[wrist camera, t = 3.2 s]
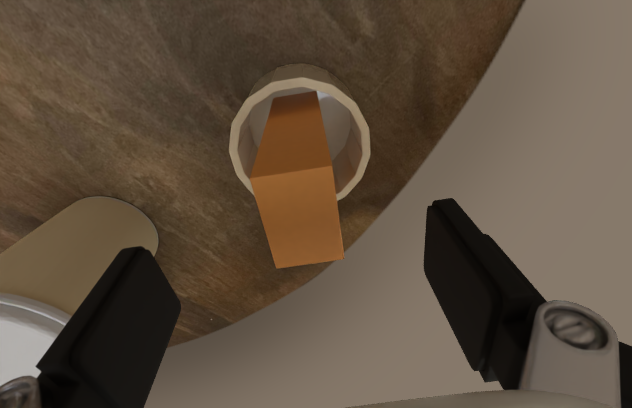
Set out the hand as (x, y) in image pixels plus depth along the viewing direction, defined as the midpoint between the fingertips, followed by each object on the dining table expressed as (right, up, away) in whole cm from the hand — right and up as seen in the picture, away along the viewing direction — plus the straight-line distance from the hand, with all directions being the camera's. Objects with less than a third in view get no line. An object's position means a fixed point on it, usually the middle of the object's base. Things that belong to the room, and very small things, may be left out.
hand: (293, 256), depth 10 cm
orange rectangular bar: (0, +7, +12) cm, 14 cm away
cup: (0, +8, +12) cm, 14 cm away
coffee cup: (-17, -1, +17) cm, 24 cm away
